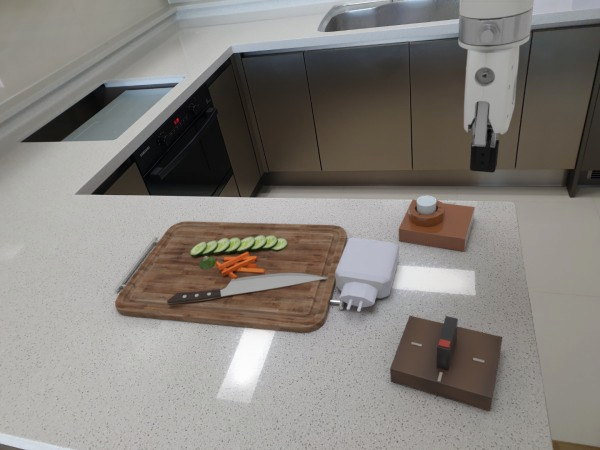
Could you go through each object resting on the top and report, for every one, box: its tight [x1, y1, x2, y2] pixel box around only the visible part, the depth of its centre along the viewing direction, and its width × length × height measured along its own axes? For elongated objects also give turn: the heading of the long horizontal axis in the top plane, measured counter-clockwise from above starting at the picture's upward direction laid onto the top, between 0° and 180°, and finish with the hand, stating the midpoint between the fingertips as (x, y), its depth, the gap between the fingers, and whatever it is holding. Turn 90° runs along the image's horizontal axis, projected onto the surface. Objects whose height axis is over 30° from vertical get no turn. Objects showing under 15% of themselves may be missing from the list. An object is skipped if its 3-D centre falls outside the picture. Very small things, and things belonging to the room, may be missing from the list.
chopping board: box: [114, 220, 348, 334], centre depth 88 cm, size 45×27×3 cm, turn 75°
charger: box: [335, 237, 400, 313], centre depth 78 cm, size 5×9×15 cm
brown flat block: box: [389, 315, 503, 412], centre depth 64 cm, size 13×10×3 cm
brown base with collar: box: [398, 199, 476, 252], centre depth 87 cm, size 12×10×5 cm
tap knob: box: [436, 315, 459, 370], centre depth 62 cm, size 6×2×4 cm, turn 154°
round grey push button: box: [416, 194, 437, 215], centre depth 86 cm, size 4×4×2 cm
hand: (483, 168), depth 62 cm, fingers closed
